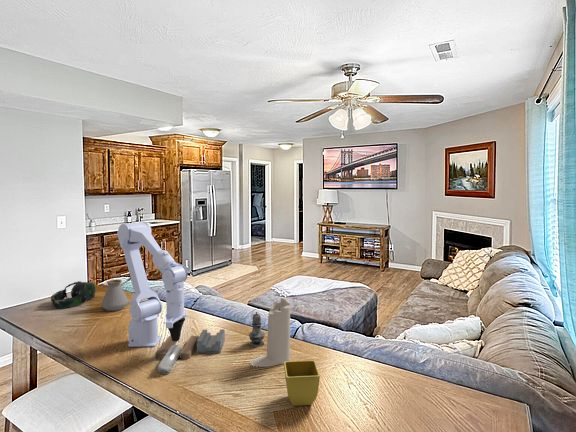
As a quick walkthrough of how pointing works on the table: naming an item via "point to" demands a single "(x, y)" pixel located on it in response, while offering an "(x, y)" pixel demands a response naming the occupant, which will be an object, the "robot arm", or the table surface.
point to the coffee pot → (115, 296)
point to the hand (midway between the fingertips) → (175, 340)
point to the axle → (169, 359)
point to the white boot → (277, 336)
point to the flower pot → (302, 381)
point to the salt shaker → (256, 332)
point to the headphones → (74, 295)
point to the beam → (185, 352)
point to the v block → (210, 342)
